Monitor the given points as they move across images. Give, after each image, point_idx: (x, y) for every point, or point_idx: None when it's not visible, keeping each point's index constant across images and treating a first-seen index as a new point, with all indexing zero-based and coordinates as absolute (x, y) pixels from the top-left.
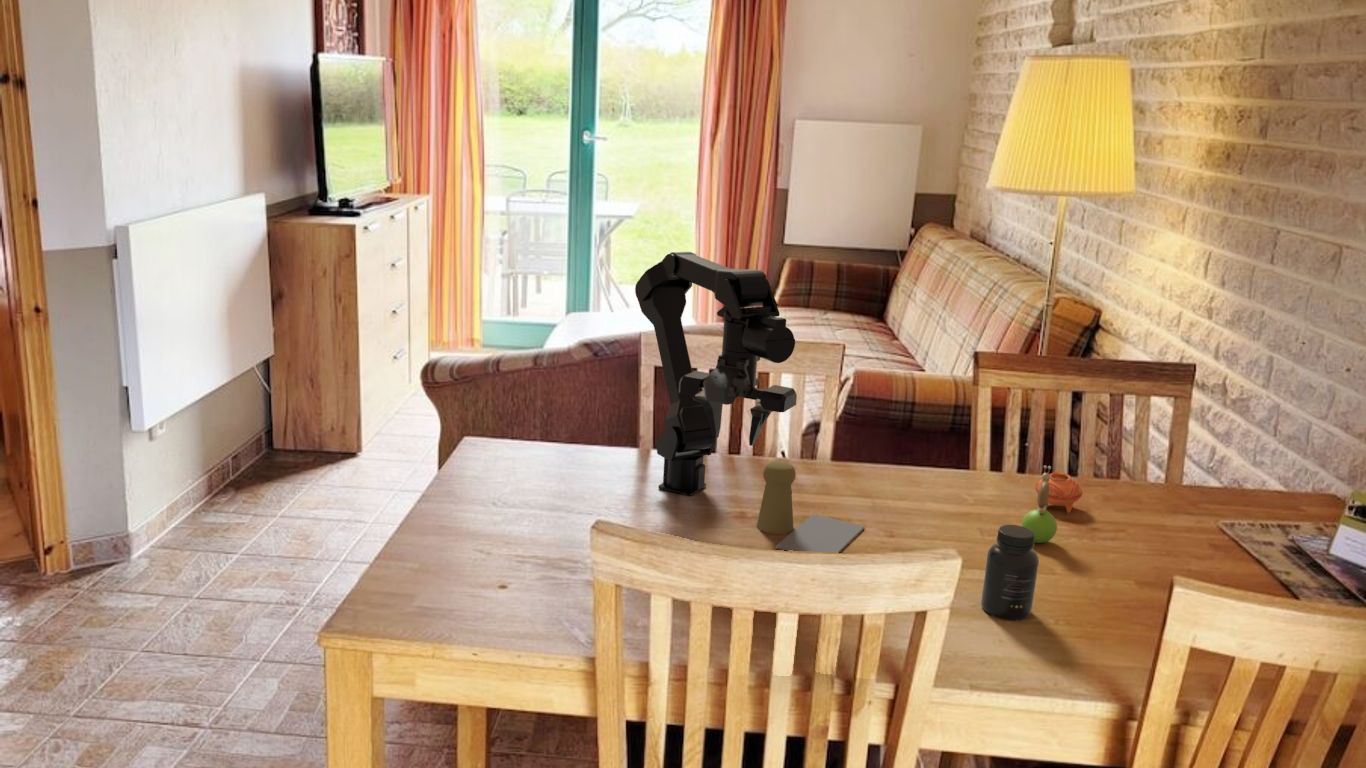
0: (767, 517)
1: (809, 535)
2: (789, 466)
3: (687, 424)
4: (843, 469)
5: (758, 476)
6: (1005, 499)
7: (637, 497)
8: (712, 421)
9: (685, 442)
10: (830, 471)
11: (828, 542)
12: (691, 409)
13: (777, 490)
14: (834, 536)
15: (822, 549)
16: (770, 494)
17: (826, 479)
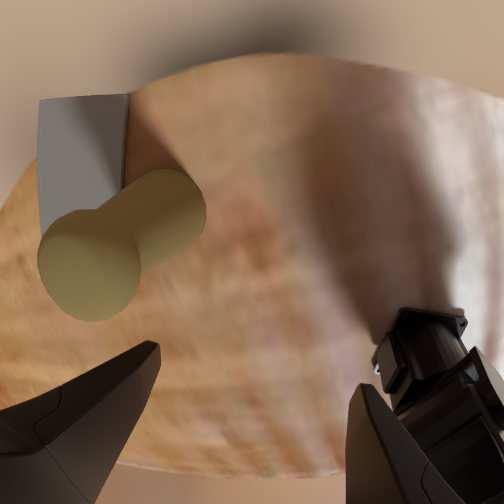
0: (157, 180)
1: (90, 188)
2: (41, 272)
3: (477, 445)
4: (177, 461)
5: (283, 430)
6: (20, 396)
7: (499, 256)
8: (398, 453)
9: (465, 387)
10: (188, 456)
11: (57, 173)
12: (470, 501)
13: (98, 209)
14: (58, 207)
15: (56, 134)
16: (124, 204)
17: (180, 436)
